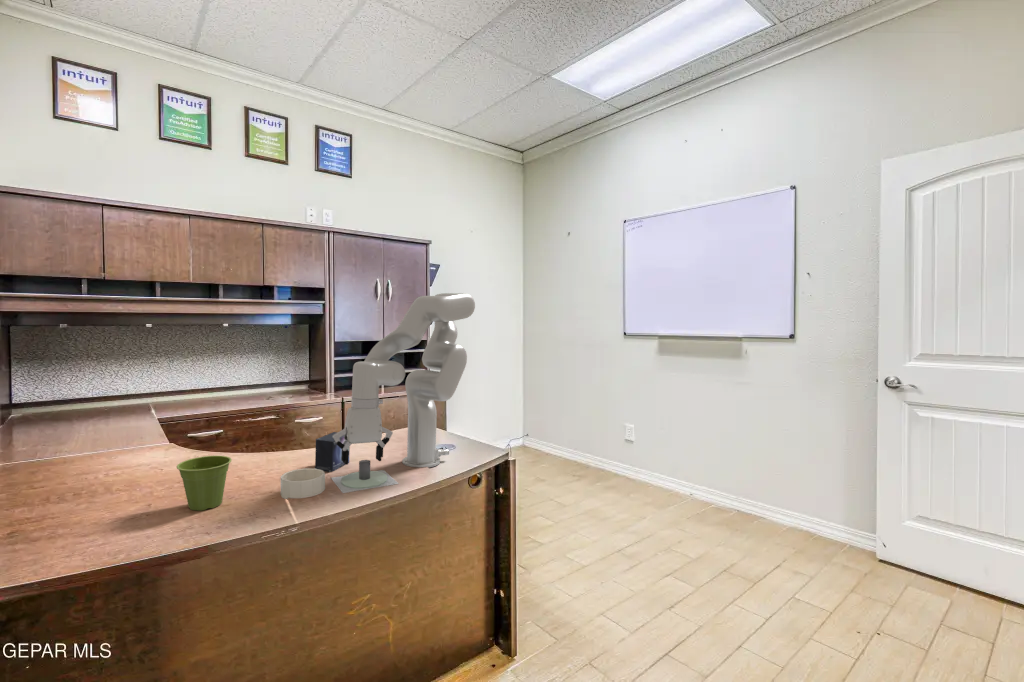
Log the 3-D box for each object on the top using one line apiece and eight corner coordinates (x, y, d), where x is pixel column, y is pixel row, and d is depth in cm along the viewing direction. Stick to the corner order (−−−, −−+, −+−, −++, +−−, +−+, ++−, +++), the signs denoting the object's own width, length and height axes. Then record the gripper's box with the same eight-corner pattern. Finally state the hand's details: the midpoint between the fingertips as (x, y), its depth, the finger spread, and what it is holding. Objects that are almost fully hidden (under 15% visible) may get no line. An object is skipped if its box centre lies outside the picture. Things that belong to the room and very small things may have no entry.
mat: (383, 471, 155) (383, 469, 155) (398, 485, 143) (398, 483, 143) (330, 479, 146) (331, 477, 146) (342, 495, 134) (342, 493, 134)
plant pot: (183, 499, 128) (183, 457, 127) (235, 494, 132) (235, 454, 131) (170, 517, 117) (170, 471, 116) (227, 511, 121) (227, 467, 120)
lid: (379, 471, 153) (379, 452, 153) (393, 483, 143) (393, 464, 142) (336, 477, 146) (336, 458, 146) (347, 491, 135) (348, 471, 135)
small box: (332, 474, 151) (333, 440, 150) (313, 472, 152) (314, 439, 152) (350, 464, 161) (351, 432, 161) (332, 462, 163) (333, 431, 162)
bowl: (319, 483, 143) (319, 466, 143) (328, 495, 134) (328, 477, 133) (278, 489, 137) (278, 472, 137) (284, 503, 128) (284, 484, 127)
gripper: (389, 400, 151) (386, 455, 151) (331, 402, 141) (328, 461, 142) (397, 404, 144) (395, 461, 145) (337, 407, 135) (334, 468, 135)
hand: (362, 461), depth 143 cm, fingers open, 9 cm apart
